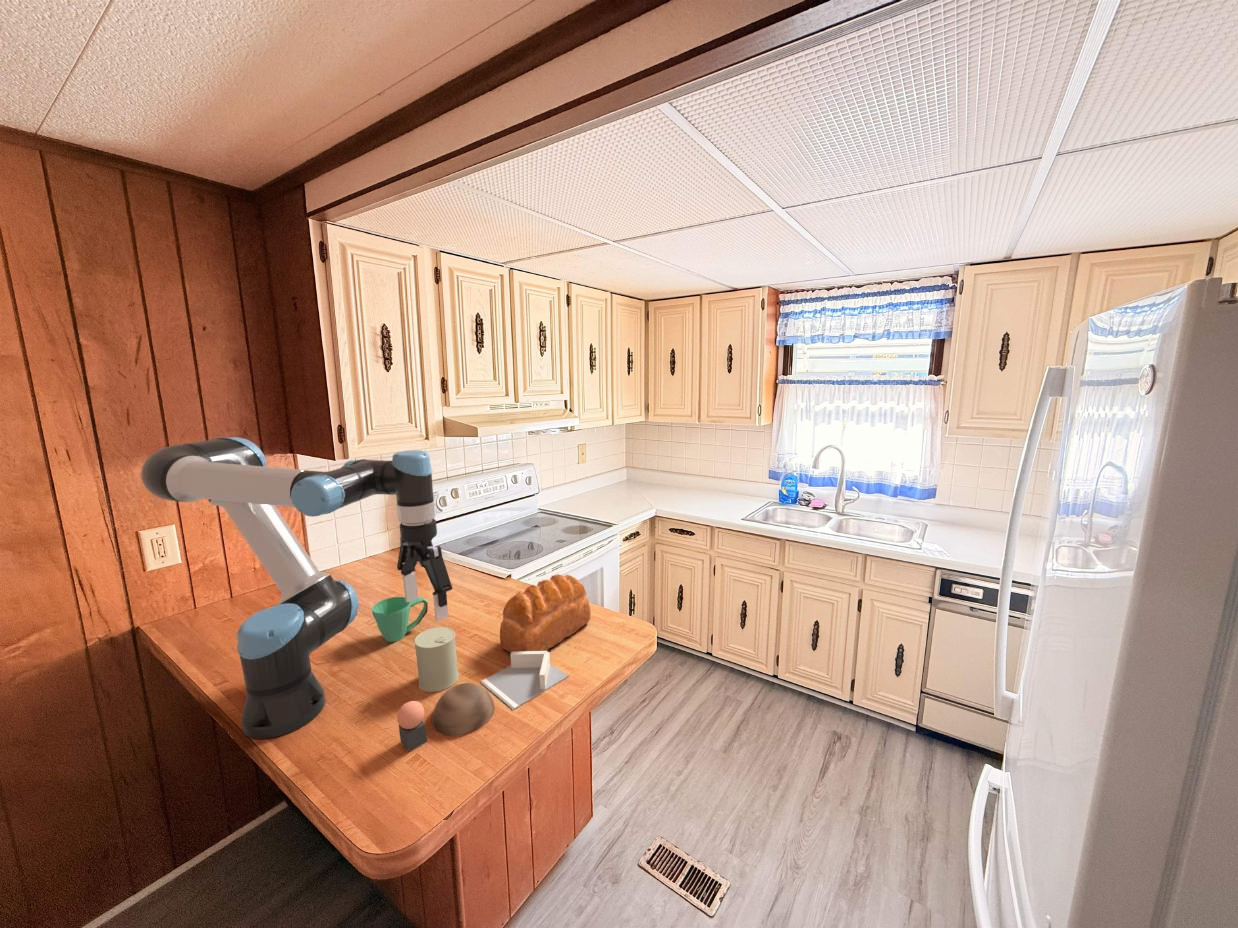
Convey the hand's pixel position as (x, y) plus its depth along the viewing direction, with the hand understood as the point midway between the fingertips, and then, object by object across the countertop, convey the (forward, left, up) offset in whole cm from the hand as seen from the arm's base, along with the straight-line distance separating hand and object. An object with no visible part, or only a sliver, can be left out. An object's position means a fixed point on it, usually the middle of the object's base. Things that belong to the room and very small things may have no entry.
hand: (426, 608), depth 111 cm
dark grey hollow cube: (-11, -14, -20) cm, 27 cm away
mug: (+5, +29, -20) cm, 35 cm away
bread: (+33, -2, -20) cm, 38 cm away
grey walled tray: (+16, -14, -20) cm, 29 cm away
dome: (0, -14, -27) cm, 30 cm away
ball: (-11, -14, -14) cm, 22 cm away
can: (+2, +1, -20) cm, 20 cm away
